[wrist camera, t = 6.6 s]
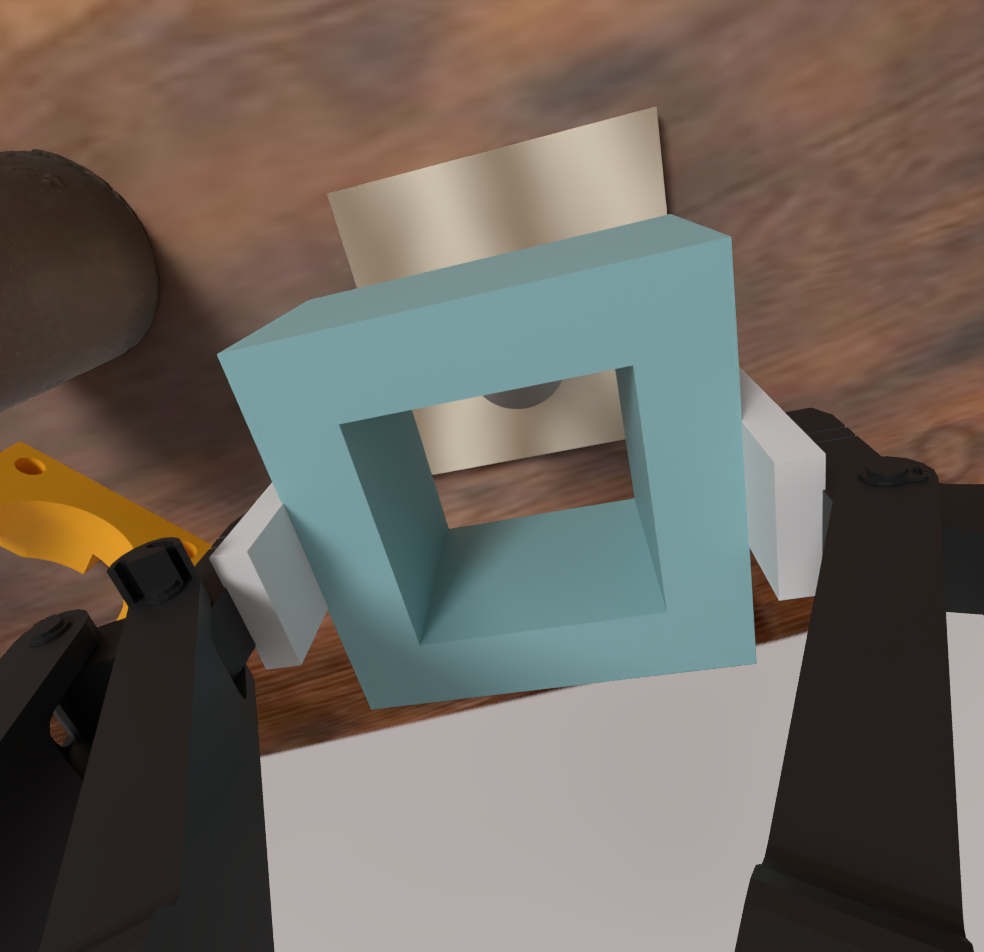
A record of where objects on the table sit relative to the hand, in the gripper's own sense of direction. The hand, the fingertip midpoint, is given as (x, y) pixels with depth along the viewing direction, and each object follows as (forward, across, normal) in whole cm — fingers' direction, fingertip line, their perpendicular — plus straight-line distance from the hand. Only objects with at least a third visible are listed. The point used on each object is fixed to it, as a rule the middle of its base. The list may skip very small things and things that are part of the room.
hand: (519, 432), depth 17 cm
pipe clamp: (+15, -26, -7) cm, 31 cm away
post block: (+14, 0, 0) cm, 14 cm away
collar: (0, 0, 0) cm, 0 cm away
